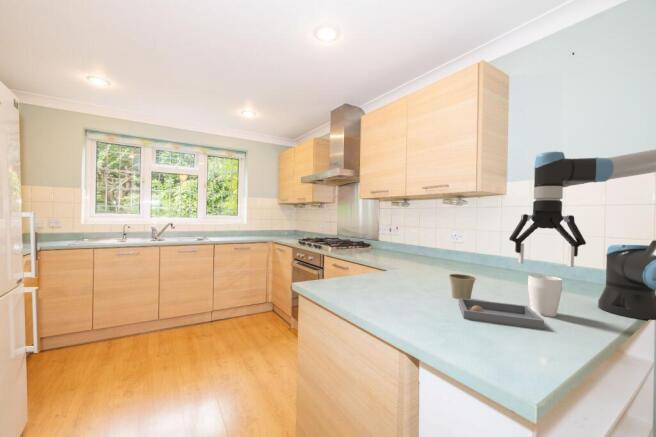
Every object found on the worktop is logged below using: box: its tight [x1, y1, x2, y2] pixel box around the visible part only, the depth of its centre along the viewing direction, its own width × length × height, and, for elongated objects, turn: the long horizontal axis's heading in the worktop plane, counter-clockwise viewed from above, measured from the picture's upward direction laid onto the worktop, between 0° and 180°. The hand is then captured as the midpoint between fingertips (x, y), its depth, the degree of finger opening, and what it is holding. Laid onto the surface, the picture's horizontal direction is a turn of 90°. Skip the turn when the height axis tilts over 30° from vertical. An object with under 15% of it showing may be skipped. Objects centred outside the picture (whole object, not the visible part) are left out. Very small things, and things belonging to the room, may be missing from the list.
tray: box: [458, 298, 545, 330], centre depth 87 cm, size 20×14×3 cm
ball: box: [471, 305, 484, 312], centre depth 85 cm, size 4×4×4 cm
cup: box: [527, 273, 563, 318], centre depth 93 cm, size 9×9×12 cm
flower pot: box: [448, 273, 477, 300], centre depth 106 cm, size 9×9×9 cm
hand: (544, 264), depth 93 cm, fingers open, 13 cm apart
